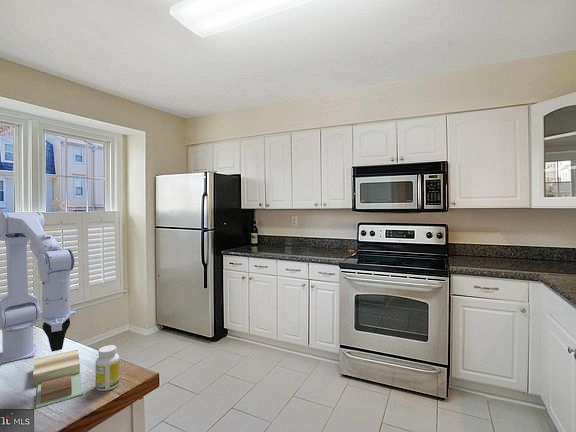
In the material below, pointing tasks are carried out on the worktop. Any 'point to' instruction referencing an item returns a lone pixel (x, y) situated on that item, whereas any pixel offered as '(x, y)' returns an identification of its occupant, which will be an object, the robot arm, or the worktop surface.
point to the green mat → (75, 393)
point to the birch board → (56, 367)
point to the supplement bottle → (107, 368)
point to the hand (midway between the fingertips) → (56, 349)
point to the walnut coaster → (56, 389)
